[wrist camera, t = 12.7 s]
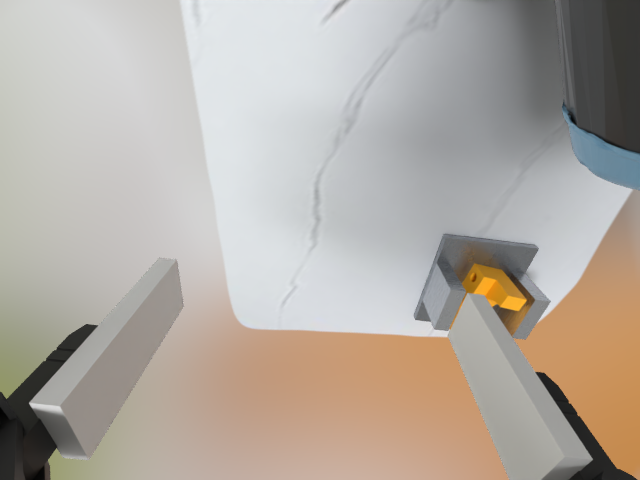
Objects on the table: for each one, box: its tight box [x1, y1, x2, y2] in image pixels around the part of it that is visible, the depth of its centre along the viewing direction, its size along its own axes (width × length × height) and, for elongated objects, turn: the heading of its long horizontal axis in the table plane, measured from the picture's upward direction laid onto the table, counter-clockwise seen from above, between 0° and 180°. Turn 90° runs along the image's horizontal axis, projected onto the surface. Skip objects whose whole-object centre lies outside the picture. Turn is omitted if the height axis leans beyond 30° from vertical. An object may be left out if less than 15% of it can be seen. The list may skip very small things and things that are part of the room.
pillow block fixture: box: [414, 234, 551, 339], centre depth 43 cm, size 16×13×7 cm
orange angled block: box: [450, 263, 527, 329], centre depth 44 cm, size 12×4×6 cm, turn 166°
